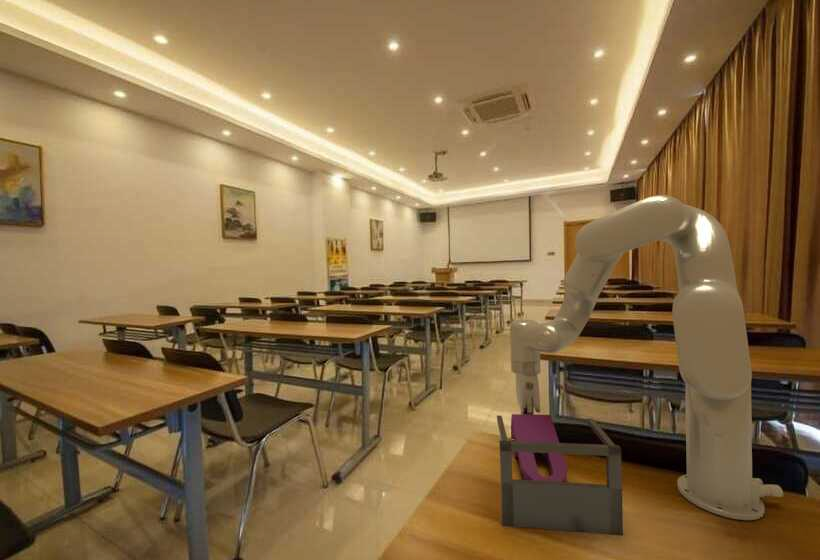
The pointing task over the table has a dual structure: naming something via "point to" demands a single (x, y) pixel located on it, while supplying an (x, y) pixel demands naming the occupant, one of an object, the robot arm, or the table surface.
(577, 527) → the rack
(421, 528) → the table surface
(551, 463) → the mounting bracket
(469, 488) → the table surface
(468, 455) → the table surface
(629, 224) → the robot arm
